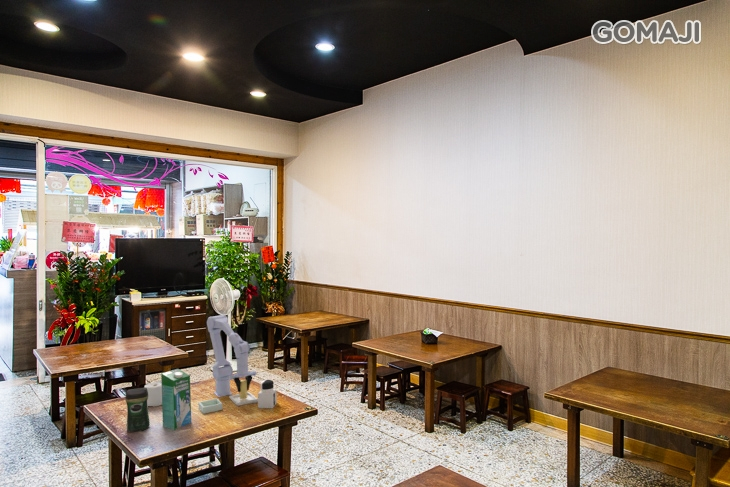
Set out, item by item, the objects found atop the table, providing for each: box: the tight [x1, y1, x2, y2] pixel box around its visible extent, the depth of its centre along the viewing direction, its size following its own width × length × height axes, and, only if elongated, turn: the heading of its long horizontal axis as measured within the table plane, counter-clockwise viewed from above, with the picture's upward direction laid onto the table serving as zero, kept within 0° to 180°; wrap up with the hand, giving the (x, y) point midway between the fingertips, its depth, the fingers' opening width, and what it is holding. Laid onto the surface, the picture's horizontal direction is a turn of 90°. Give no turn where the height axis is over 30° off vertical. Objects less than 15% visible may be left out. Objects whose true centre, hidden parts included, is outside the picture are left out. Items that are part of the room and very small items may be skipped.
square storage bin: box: [197, 397, 224, 414], centre depth 240 cm, size 10×10×4 cm
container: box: [257, 379, 278, 409], centre depth 244 cm, size 8×8×13 cm
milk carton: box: [160, 368, 192, 431], centre depth 221 cm, size 9×9×25 cm
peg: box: [238, 379, 248, 399], centre depth 252 cm, size 4×4×9 cm
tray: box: [228, 391, 258, 407], centre depth 252 cm, size 14×11×2 cm
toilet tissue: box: [143, 379, 162, 407], centre depth 252 cm, size 11×12×10 cm
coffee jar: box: [125, 387, 151, 432], centre depth 218 cm, size 10×8×19 cm
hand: (243, 390), depth 252 cm, fingers closed on peg, 4 cm apart
